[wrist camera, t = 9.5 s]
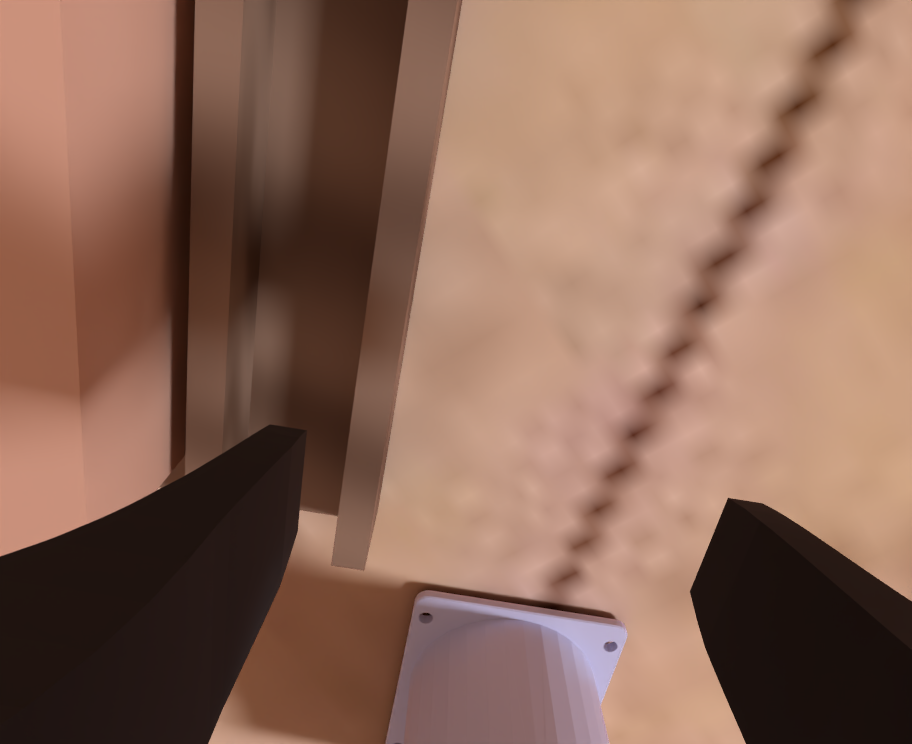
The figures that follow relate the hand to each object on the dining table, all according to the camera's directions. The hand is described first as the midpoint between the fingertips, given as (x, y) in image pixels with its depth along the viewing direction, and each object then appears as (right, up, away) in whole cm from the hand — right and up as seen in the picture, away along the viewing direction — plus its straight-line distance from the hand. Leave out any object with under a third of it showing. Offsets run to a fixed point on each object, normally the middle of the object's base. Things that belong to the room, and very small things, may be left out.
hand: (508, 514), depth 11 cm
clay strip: (-9, +7, +6) cm, 13 cm away
